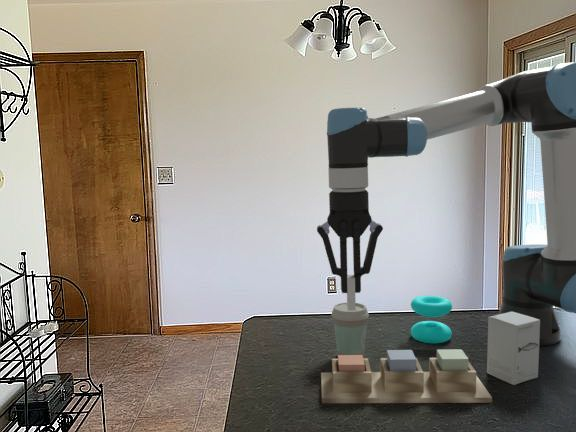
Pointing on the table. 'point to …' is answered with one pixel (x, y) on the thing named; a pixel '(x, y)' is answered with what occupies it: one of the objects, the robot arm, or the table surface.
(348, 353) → the coffee cup
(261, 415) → the table surface
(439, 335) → the donuts
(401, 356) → the slate button
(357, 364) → the terracotta button
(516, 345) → the supplement box
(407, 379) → the button panel
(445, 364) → the sage button
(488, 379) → the table surface
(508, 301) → the robot arm
